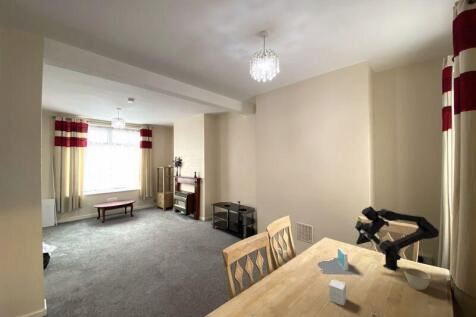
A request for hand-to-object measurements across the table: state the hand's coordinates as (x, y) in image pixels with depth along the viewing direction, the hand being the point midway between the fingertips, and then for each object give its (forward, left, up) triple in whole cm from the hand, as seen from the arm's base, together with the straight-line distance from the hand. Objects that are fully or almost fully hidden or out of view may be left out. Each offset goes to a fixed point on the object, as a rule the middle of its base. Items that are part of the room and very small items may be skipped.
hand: (356, 244), depth 123 cm
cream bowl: (-5, +27, -14) cm, 31 cm away
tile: (+7, -5, -13) cm, 16 cm away
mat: (+11, -8, -14) cm, 19 cm away
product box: (+37, +12, -14) cm, 41 cm away
